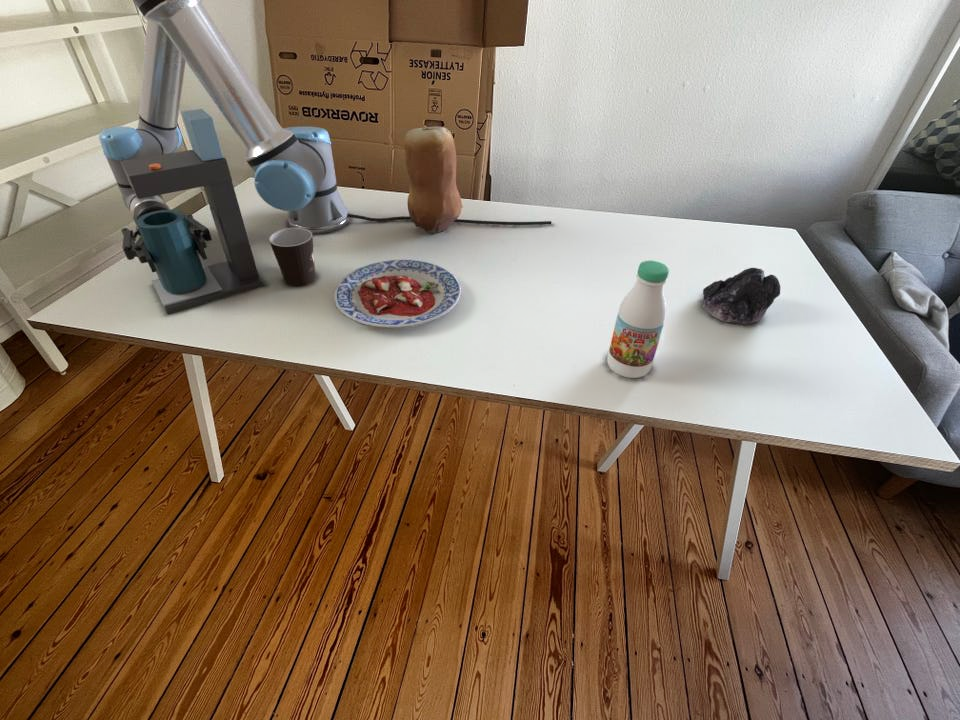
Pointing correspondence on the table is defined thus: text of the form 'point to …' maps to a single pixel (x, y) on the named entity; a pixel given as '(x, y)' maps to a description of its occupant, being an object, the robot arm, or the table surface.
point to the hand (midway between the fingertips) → (178, 259)
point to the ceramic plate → (397, 293)
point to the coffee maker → (213, 175)
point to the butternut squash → (432, 178)
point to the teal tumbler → (172, 250)
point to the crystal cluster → (741, 296)
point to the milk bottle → (639, 322)
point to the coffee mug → (294, 255)
